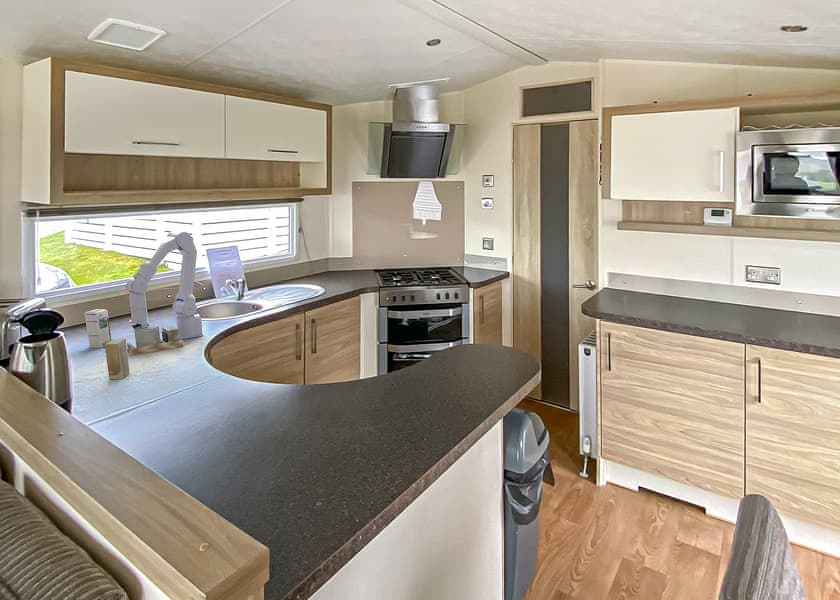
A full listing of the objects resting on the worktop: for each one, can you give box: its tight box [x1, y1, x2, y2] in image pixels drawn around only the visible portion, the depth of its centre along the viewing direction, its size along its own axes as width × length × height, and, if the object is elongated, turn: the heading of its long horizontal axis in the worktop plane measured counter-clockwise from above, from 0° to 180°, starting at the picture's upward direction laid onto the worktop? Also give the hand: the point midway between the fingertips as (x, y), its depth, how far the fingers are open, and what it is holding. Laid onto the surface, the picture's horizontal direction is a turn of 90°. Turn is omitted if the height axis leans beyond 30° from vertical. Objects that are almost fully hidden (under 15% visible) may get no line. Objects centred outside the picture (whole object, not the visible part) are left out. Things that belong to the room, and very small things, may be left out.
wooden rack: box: [126, 325, 185, 356], centre depth 219 cm, size 19×10×7 cm, turn 129°
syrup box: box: [84, 308, 112, 349], centre depth 223 cm, size 6×6×14 cm
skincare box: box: [104, 338, 131, 380], centre depth 184 cm, size 6×4×12 cm
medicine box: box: [133, 325, 161, 348], centre depth 218 cm, size 8×4×9 cm, turn 80°
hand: (142, 342), depth 223 cm, fingers closed
